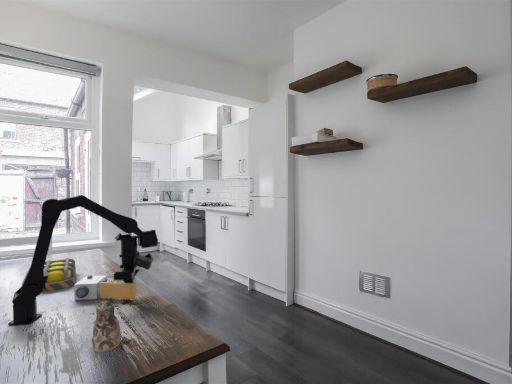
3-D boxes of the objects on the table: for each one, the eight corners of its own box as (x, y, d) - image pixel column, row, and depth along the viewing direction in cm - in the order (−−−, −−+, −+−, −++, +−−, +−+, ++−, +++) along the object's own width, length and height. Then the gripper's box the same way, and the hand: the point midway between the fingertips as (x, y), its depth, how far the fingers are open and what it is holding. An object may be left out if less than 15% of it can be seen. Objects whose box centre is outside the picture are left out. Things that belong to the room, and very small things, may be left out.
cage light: (75, 255, 153) (74, 269, 127) (75, 271, 153) (75, 288, 127) (40, 259, 145) (32, 275, 120) (40, 275, 146) (32, 294, 120)
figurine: (85, 350, 78) (84, 305, 78) (103, 336, 85) (102, 295, 85) (109, 352, 77) (108, 306, 76) (126, 338, 84) (125, 296, 83)
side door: (96, 298, 113) (96, 283, 113) (98, 297, 115) (98, 282, 114) (134, 300, 112) (133, 284, 111) (135, 298, 113) (135, 283, 113)
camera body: (94, 300, 112) (94, 282, 112) (72, 301, 111) (71, 283, 111) (107, 289, 124) (107, 273, 124) (87, 290, 123) (86, 274, 123)
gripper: (145, 255, 106) (146, 298, 107) (155, 243, 125) (156, 280, 126) (112, 257, 105) (113, 300, 106) (128, 244, 123) (129, 281, 124)
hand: (130, 289), depth 115 cm, fingers closed
